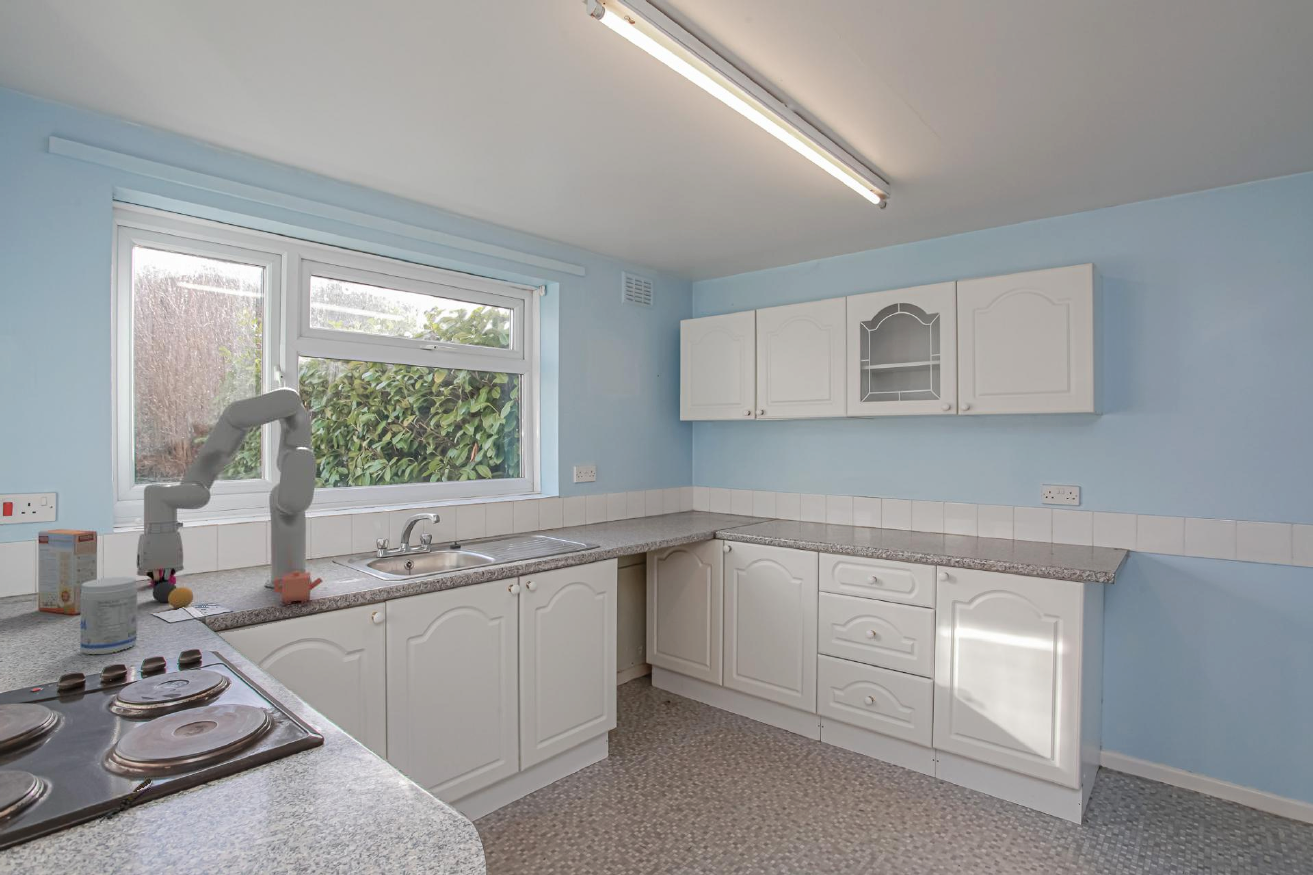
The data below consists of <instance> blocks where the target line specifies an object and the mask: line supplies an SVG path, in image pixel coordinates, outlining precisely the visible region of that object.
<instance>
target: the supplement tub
mask: <svg viewBox="0 0 1313 875" xmlns="http://www.w3.org/2000/svg"><path fill="white" fill-rule="evenodd" d="M137 586H138V585H137V579H136V578H135V577H130V576H128V577H127V576H116V577H115V576H114V577H103V578H97V580H92V581H88V582H85V583H83V584H82V590H81V613H80V651H81V653H83V654H84V655H89V654H93V655H92V656H95V655H94V654H101V655H108V654H113V652H115V653H119V652H121V651H120V650H123V649H126V650H128V649H127V648H129V647H131V648H133V647H134V646H135V645H136V643H137V640H138V639H137V638H138V637H137V632H138V587H137ZM133 645H134V646H133ZM132 646H133V647H132ZM129 649H130V648H129ZM118 651H119V652H118ZM123 651H124V650H123Z"/></svg>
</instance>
